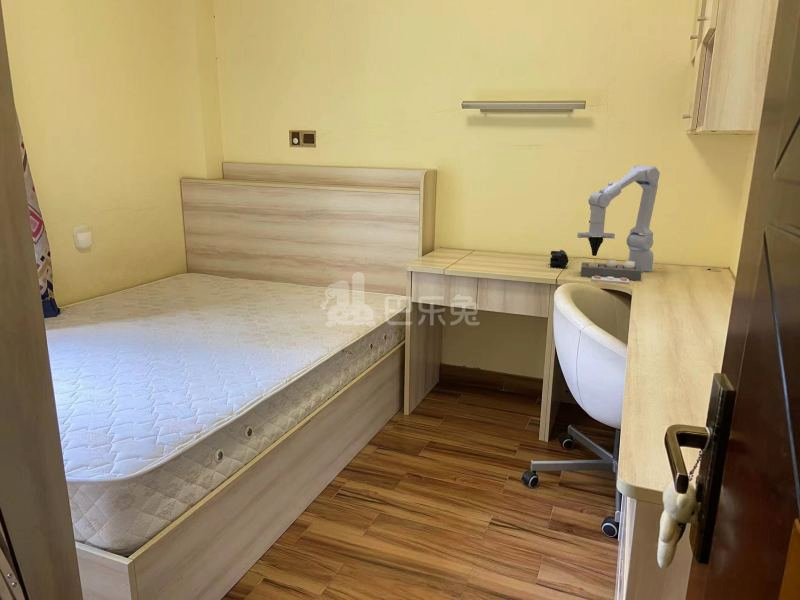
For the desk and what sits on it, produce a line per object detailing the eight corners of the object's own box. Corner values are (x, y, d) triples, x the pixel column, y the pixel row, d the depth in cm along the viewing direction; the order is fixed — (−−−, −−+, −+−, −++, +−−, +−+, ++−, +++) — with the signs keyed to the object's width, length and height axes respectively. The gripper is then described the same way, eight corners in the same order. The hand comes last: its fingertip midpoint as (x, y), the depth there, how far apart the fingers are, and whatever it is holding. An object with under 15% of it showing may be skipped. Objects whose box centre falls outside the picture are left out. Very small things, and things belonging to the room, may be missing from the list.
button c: (597, 272, 253) (598, 263, 252) (597, 274, 250) (598, 265, 249) (587, 271, 255) (588, 262, 254) (587, 273, 251) (588, 264, 250)
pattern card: (628, 280, 242) (629, 277, 241) (629, 284, 236) (629, 280, 236) (591, 278, 246) (592, 274, 245) (591, 281, 240) (592, 277, 240)
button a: (633, 270, 249) (634, 261, 248) (634, 272, 245) (635, 262, 244) (623, 270, 250) (624, 260, 249) (623, 271, 246) (624, 262, 245)
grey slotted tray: (638, 275, 252) (640, 266, 251) (640, 281, 242) (641, 271, 241) (581, 271, 259) (582, 262, 258) (580, 276, 249) (581, 266, 248)
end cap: (567, 269, 263) (569, 253, 262) (550, 268, 265) (552, 253, 263) (566, 264, 273) (567, 249, 271) (549, 263, 274) (551, 249, 272)
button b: (615, 269, 251) (616, 259, 250) (615, 271, 247) (616, 261, 246) (605, 268, 252) (606, 259, 251) (605, 270, 248) (606, 261, 247)
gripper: (612, 221, 250) (609, 254, 254) (577, 220, 251) (574, 253, 255) (617, 223, 243) (614, 257, 247) (580, 223, 244) (577, 256, 248)
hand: (594, 255), depth 250 cm, fingers closed
